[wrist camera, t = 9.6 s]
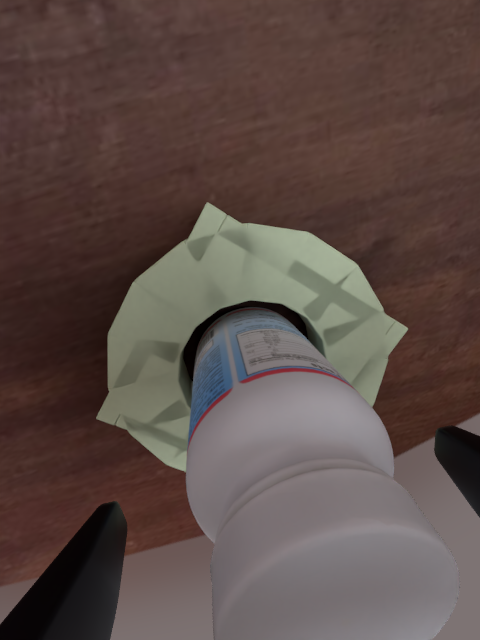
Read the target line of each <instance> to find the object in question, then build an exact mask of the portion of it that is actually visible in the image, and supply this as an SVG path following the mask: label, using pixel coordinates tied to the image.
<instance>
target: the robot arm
mask: <svg viewBox="0 0 480 640" xmlns="http://www.w3.org/2000/svg"><path fill="white" fill-rule="evenodd" d="M434 451H435V455H436V457H437V459H438V461H439V462H440V464H441V465H442V466H443V468H444V469H445V470H446V472H447V473H448V475H449V476H450V477H451V479H452V480H453V482H454V483H455V484H456V486H457V487H458V489H459V490H460V491H461V493H462V494H463V495H464V497H465V498H466V500H467V501H468V502H469V504H470V505H471V506H472V508H473V509H474V511H475V512H476V513H477V514H478V516H479V517H480V436H478V435H475V434H473V433H471V432H468V431H466V430H463V429H460V428H458V427H455V426H445V427H441V428H438V429H437V430H436V435H435V448H434ZM126 537H127V522H126V519H125V517H124V515H123V512H122V510H121V508H120V505H119V503H118V502H116V501H113V502H109V503H104V504H102V505H100V506H99V507H98V508H97V509H96V510H95V511H94V513H93V514H92V515H91V516H90V517H89V519H88V520H87V521H86V522H85V523H84V525H83V526H82V527H81V528H80V529H79V531H78V532H77V533H76V534H75V535H74V537H73V538H72V539H71V540H70V541H69V543H68V544H67V545H66V546H65V547H64V549H63V550H62V551H61V552H60V553H59V555H58V556H57V557H56V558H55V559H54V561H53V562H52V563H51V564H50V565H49V567H48V568H47V569H46V570H45V571H44V573H43V574H42V575H41V576H40V577H39V579H38V580H37V581H36V582H35V583H34V585H33V586H32V587H31V588H30V590H29V591H28V592H27V593H26V594H25V595H24V597H23V598H22V599H21V600H20V601H19V603H18V604H17V605H16V606H15V607H14V609H13V610H12V611H11V612H10V613H9V615H8V616H7V617H6V618H5V619H4V621H3V622H2V623H1V624H0V640H110V637H111V632H112V628H113V623H114V619H115V614H116V608H117V603H118V597H119V590H120V582H121V575H122V567H123V560H124V552H125V545H126Z"/></svg>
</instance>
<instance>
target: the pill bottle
mask: <svg viewBox="0 0 480 640" xmlns="http://www.w3.org/2000/svg"><path fill="white" fill-rule="evenodd" d="M393 476H394V458H393V451H392V446H391V442H390V439H389V436H388V433H387V431H386V429H385V426H384V425H383V423H382V421H381V419H380V418H379V416H378V415H377V413H376V412H375V411H374V410H373V408H372V407H371V406H370V405H369V404H368V403H367V401H366V400H365V399H364V398H363V397H362V396H361V395H360V394H359V393H358V392H357V390H356V389H355V388H354V387H353V386H352V385H351V384H350V383H349V382H348V381H347V380H346V379H345V378H344V377H343V376H342V375H341V374H340V373H339V372H338V371H337V370H336V369H335V368H334V367H333V366H332V364H331V363H330V362H329V361H328V360H327V359H326V358H325V357H324V356H323V355H322V354H321V353H320V352H319V351H318V350H317V349H316V348H315V347H314V346H313V345H312V344H311V343H310V342H309V341H308V339H307V338H306V337H305V336H304V335H303V334H302V333H301V332H300V331H299V330H298V329H297V328H296V327H295V326H294V325H293V324H292V323H291V322H290V321H288V320H287V319H286V318H285V317H283V316H282V315H280V314H279V313H277V312H274V311H272V310H269V309H265V308H260V307H245V308H240V309H236V310H233V311H231V312H228V313H226V314H224V315H223V316H221V317H219V318H218V319H217V320H215V321H214V322H213V323H212V324H211V325H210V326H209V327H208V328H207V330H206V331H205V332H204V334H203V335H202V337H201V339H200V342H199V344H198V347H197V351H196V357H195V365H194V377H193V388H192V401H191V413H190V424H189V436H188V447H187V460H186V489H187V495H188V500H189V504H190V507H191V510H192V513H193V515H194V517H195V519H196V521H197V523H198V524H199V526H200V527H201V529H202V530H203V532H204V533H205V534H206V536H207V537H208V538H209V539H210V540H211V541H212V542H213V543H214V544H215V545H214V549H213V552H212V557H211V565H210V573H211V581H212V601H213V602H212V606H213V633H214V640H432V639H433V638H434V637H435V636H436V635H437V633H438V632H439V631H440V630H441V629H442V628H443V626H444V624H445V623H446V621H447V620H448V618H449V617H450V616H451V614H452V611H453V609H454V607H455V604H456V602H457V599H458V594H459V588H460V578H459V570H458V567H457V564H456V560H455V558H454V557H453V555H452V553H451V551H450V549H449V548H448V546H447V545H446V543H445V542H444V541H443V539H442V538H441V537H440V535H439V534H438V533H437V531H436V530H435V529H434V527H433V526H432V525H431V523H430V522H429V521H428V520H427V518H426V517H425V515H424V514H423V513H422V511H421V510H420V508H419V507H418V506H417V503H416V502H415V500H414V499H413V497H412V496H411V494H410V493H409V492H408V491H407V490H406V489H405V488H404V487H403V486H401V485H400V484H399V483H397V482H396V481H395V480H394V479H393Z"/></svg>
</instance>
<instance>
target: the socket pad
mask: <svg viewBox="0 0 480 640" xmlns="http://www.w3.org/2000/svg"><path fill="white" fill-rule="evenodd" d="M226 215H227V214H226V213H224V212H223V211H221V210H219V209H218V208H216V207H215V206H213V205H211V204H210V203H208V202H207V203H206V205H205V207H204V209H203V210H202V212H201V214H200V216H199V218H198V220H197V222H196V224H195V226H194V228H193V230H192V232H191V234H190V236H189V238H188V239H186V240H184V241H182V242H180V243H179V244H178V245H177V246H176V247H174V248H173V249H172V250H171V251H169V252H168V253H167V254H166V255H165V256H163V257H162V258H161V259H160V260H158V261H157V262H156V263H155V264H154V265H152V266H151V267H150V268H149V269H147V270H146V271H145V272H144V273H143V274H141V275H140V276H139V277H138V278H136V279H135V281H134V282H133V283H132V285H131V287H130V289H129V291H128V293H127V295H126V297H125V299H124V301H123V303H122V305H121V307H120V310H119V312H118V314H117V316H116V318H115V320H114V322H113V324H112V326H111V328H110V330H109V332H108V390H109V394H108V396H107V397H106V399H105V401H104V403H103V405H102V407H101V409H100V411H99V413H98V415H97V417H96V419H98V420H101V421H103V422H106V423H109V424H111V425H114V424H115V425H116V426H118V427H121V428H123V429H126V430H128V431H129V433H130V434H131V435H132V436H133V437H134V438H135V439H136V440H138V441H139V442H140V443H141V444H142V445H143V446H145V447H146V448H147V449H148V450H149V451H151V452H152V453H153V454H154V455H155V456H156V457H158V458H159V459H160V460H161V461H162V462H164V463H165V464H166V465H168V466H171V467H174V468H176V469H179V470H182V471H185V472H186V460H187V447H188V436H189V424H190V413H191V401H192V388H193V381H192V380H191V379H190V376H189V373H188V370H187V368H186V365H185V362H184V359H183V355H184V347H185V345H186V344H187V342H188V340H189V338H190V337H191V335H192V333H193V331H194V329H195V328H196V327H197V326H198V325H200V324H201V323H202V322H203V321H205V320H206V319H207V318H209V317H210V316H211V315H213V314H214V313H215V312H216V311H218V310H219V309H221V308H225V307H228V306H232V305H235V304H239V303H243V302H246V301H250V300H252V301H261V302H270V303H279V304H283V305H284V306H286V307H288V308H290V309H291V310H293V311H295V312H297V313H298V315H299V316H300V317H301V319H302V320H303V321H304V323H305V325H306V330H307V335H308V340H309V342H310V343H311V344H312V345H313V346H314V347H315V348H316V349H317V350H318V351H319V352H320V353H321V354H322V355H323V356H324V357H325V358H326V359H327V360H328V361H329V362H330V363H331V364H332V366H333V367H334V368H335V369H336V370H337V371H338V372H339V373H340V374H341V375H342V376H343V377H344V378H345V379H346V380H347V381H348V382H349V383H350V384H351V385H352V386H353V387H354V388H355V389H356V390H357V392H358V393H359V394H360V395H361V396H362V397H363V398H364V399H365V400H366V401H367V403H368V404H369V405H370V406H371V407H372V406H373V404H374V402H375V399H376V396H377V393H378V390H379V387H380V384H381V381H382V378H383V375H384V371H385V368H386V365H387V362H388V355H389V354H390V353H391V351H392V350H393V349H394V347H395V346H396V345H397V343H398V342H399V341H400V339H401V338H402V337H403V336H404V334H405V333H406V332H407V330H408V328H407V327H405V326H404V325H402V324H401V323H399V322H397V321H396V320H394V319H393V318H391V317H389V316H388V315H386V314H385V313H384V309H383V307H382V305H381V304H380V302H379V300H378V298H377V297H376V295H375V293H374V292H373V290H372V288H371V287H370V285H369V283H368V281H367V280H366V278H365V276H364V275H363V273H362V271H361V269H360V268H359V266H358V265H357V264H356V263H355V262H354V261H352V260H350V259H349V258H347V257H346V256H344V255H343V254H341V253H340V252H338V251H337V250H335V249H334V248H332V247H331V246H329V245H328V244H326V243H325V242H323V241H322V240H320V239H319V238H317V237H316V236H314V235H313V234H311V233H309V232H305V231H299V230H292V229H286V228H279V227H272V226H266V225H259V224H253V223H244V224H242V223H240V222H238V221H237V220H235V219H234V218H232V217H230V216H229V215H227V216H226Z"/></svg>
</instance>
